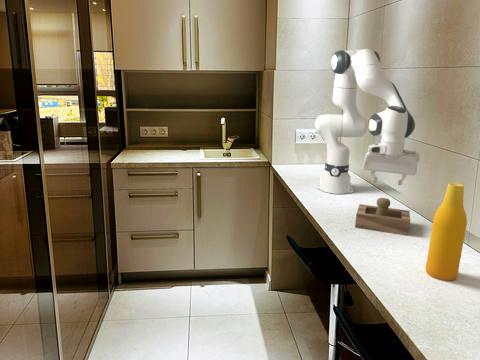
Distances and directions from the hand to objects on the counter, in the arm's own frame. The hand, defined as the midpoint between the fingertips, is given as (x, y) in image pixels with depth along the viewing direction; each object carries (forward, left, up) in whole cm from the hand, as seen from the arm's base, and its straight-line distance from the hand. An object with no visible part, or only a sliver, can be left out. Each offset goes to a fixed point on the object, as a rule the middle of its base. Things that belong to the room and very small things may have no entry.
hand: (387, 183), depth 175 cm
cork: (0, 0, -18) cm, 18 cm away
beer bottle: (+39, +19, -18) cm, 47 cm away
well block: (0, 0, -18) cm, 18 cm away
